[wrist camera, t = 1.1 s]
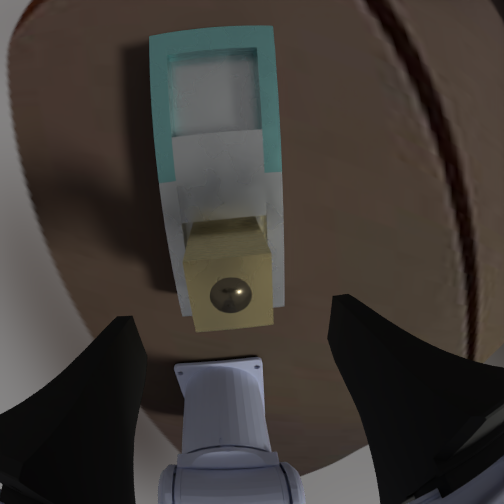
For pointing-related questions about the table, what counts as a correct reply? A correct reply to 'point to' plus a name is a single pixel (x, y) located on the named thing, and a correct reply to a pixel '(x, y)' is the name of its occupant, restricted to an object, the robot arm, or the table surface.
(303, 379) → the table surface
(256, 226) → the nut
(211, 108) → the white teal tray block
